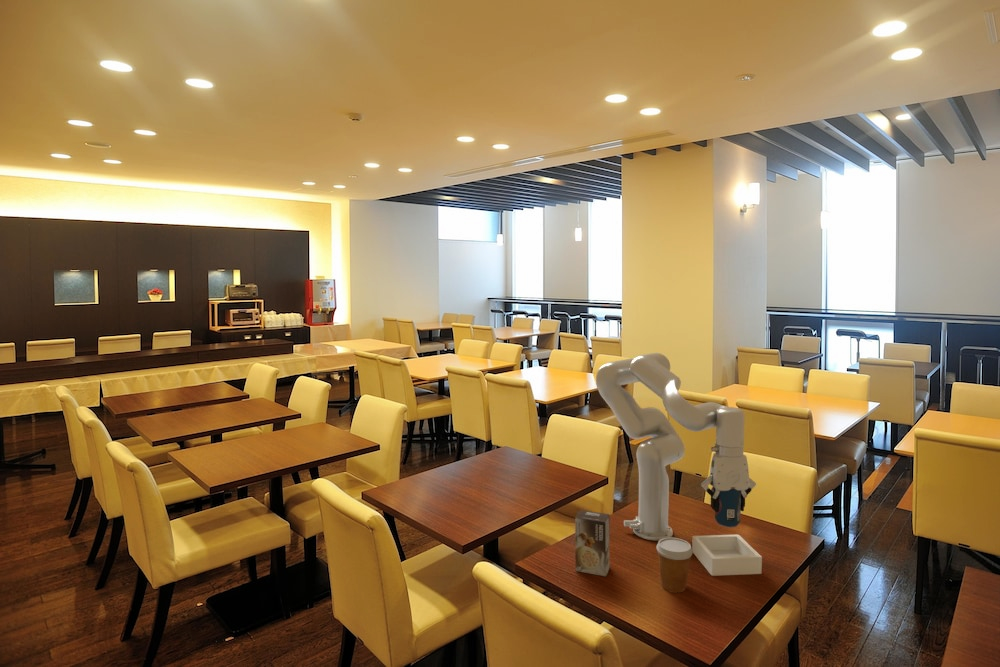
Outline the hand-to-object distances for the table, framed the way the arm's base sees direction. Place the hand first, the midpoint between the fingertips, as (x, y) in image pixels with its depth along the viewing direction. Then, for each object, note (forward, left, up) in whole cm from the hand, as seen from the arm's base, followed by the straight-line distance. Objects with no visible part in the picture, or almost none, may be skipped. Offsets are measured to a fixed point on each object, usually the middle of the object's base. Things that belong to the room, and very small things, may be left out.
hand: (727, 509), depth 171 cm
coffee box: (-40, -1, -17) cm, 43 cm away
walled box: (0, 0, -16) cm, 16 cm away
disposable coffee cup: (-20, -12, -17) cm, 29 cm away
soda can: (0, 0, -5) cm, 5 cm away
